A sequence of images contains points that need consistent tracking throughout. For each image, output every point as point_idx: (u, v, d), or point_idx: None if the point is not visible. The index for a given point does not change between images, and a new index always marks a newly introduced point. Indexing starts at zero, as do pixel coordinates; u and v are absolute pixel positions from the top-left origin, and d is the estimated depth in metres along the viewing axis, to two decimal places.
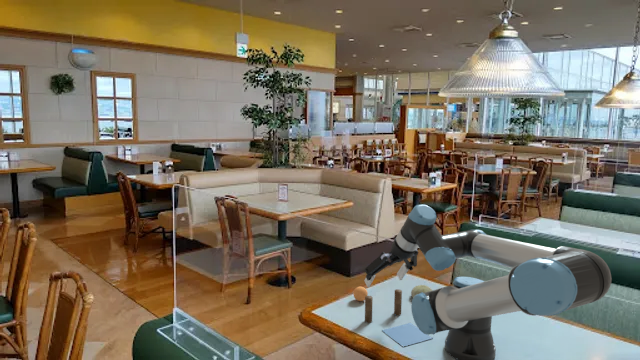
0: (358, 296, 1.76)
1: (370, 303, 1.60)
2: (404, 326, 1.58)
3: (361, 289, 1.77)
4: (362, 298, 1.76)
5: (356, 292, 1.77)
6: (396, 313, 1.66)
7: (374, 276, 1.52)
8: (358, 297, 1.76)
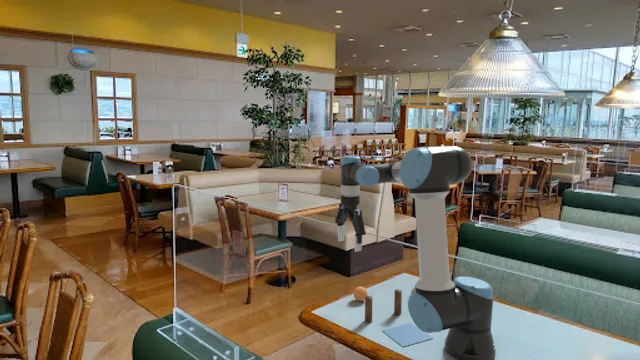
0: (358, 296, 1.76)
1: (370, 303, 1.60)
2: (404, 326, 1.58)
3: (361, 289, 1.77)
4: (362, 298, 1.76)
5: (356, 292, 1.77)
6: (396, 313, 1.66)
7: (338, 226, 1.88)
8: (358, 297, 1.76)
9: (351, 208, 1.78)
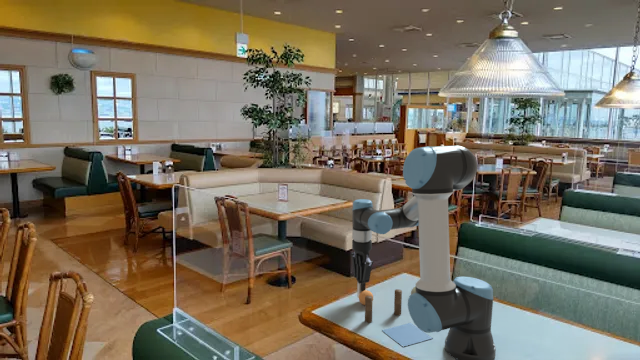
0: (363, 303, 1.73)
1: (370, 303, 1.60)
2: (404, 326, 1.58)
3: None
4: None
5: (363, 299, 1.73)
6: (396, 313, 1.66)
7: (358, 282, 1.77)
8: (362, 303, 1.74)
9: (364, 255, 1.72)
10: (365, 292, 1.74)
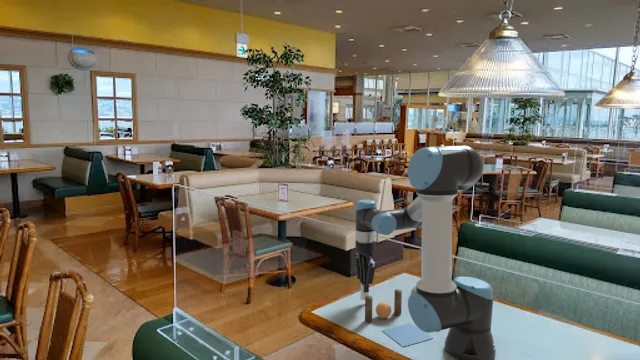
0: (379, 307, 1.62)
1: (370, 303, 1.60)
2: (404, 326, 1.58)
3: (380, 303, 1.65)
4: (384, 307, 1.62)
5: (376, 307, 1.64)
6: (396, 313, 1.66)
7: (361, 283, 1.75)
8: (380, 309, 1.62)
9: (367, 256, 1.69)
10: None
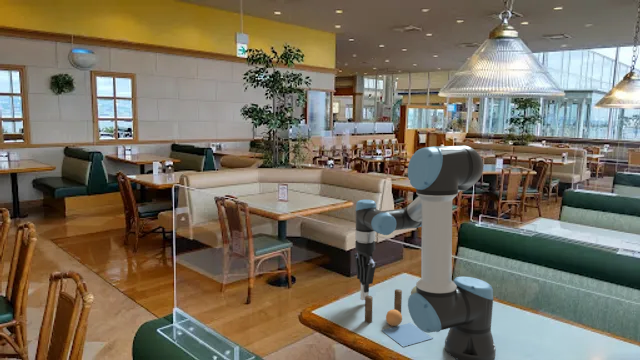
0: (390, 324, 1.57)
1: (370, 303, 1.60)
2: (404, 326, 1.58)
3: (397, 322, 1.56)
4: None
5: (391, 321, 1.56)
6: None
7: (361, 283, 1.75)
8: None
9: (367, 256, 1.69)
10: (394, 313, 1.57)
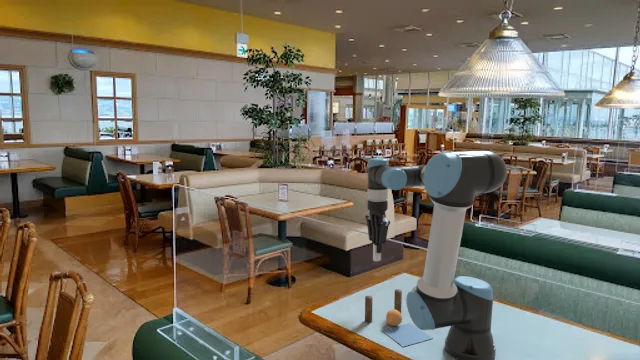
0: (390, 324, 1.57)
1: (370, 303, 1.60)
2: (404, 326, 1.58)
3: (397, 322, 1.56)
4: None
5: (391, 321, 1.56)
6: None
7: (373, 244, 1.72)
8: None
9: (380, 214, 1.67)
10: (394, 313, 1.57)
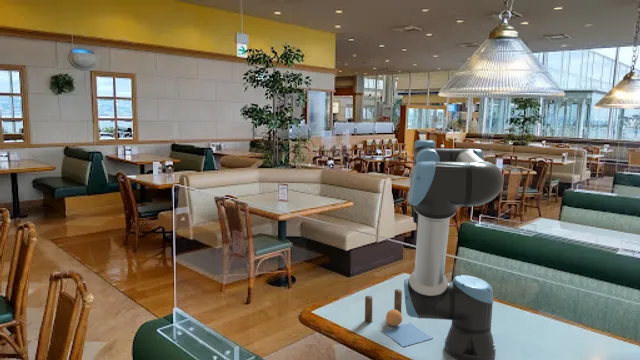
0: (390, 324, 1.57)
1: (370, 303, 1.60)
2: (404, 326, 1.58)
3: (397, 322, 1.56)
4: None
5: (391, 321, 1.56)
6: None
7: (418, 226, 1.72)
8: None
9: None
10: (394, 313, 1.57)
